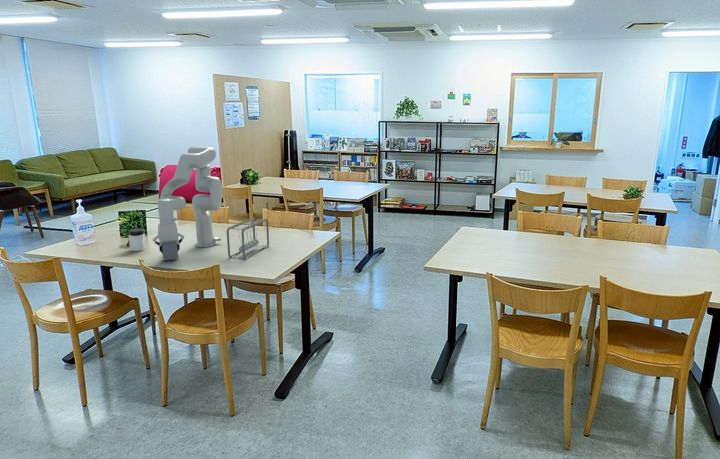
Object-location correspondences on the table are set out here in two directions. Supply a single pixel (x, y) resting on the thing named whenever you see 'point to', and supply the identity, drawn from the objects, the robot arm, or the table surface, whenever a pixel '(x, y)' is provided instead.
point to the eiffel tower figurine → (126, 244)
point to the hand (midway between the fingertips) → (169, 251)
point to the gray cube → (170, 250)
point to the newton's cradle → (251, 243)
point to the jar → (137, 239)
